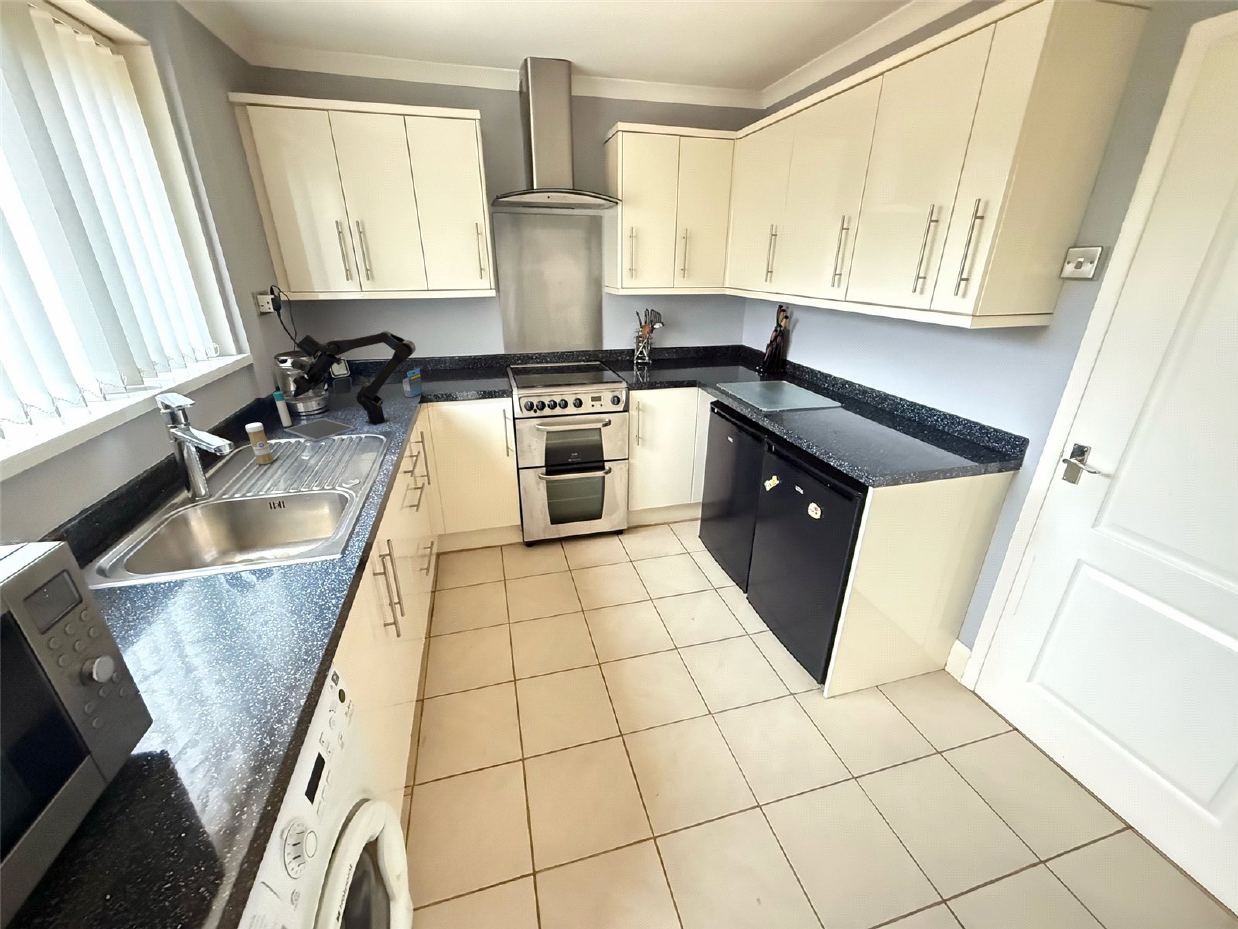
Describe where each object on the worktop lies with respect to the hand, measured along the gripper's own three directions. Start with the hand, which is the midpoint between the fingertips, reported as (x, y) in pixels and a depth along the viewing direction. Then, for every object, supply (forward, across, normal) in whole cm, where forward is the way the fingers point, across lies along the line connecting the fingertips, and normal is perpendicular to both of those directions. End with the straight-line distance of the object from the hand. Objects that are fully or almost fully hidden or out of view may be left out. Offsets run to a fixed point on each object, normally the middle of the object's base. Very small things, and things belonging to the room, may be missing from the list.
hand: (299, 394), depth 193 cm
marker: (+15, 0, +4) cm, 15 cm away
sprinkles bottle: (+8, +38, +10) cm, 40 cm away
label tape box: (-14, -39, +33) cm, 53 cm away
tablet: (+4, +7, +14) cm, 17 cm away
